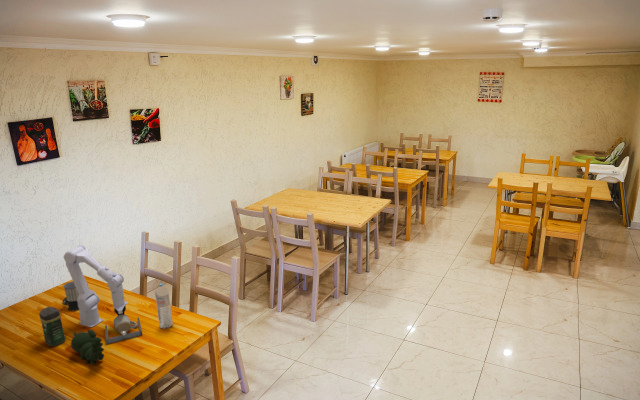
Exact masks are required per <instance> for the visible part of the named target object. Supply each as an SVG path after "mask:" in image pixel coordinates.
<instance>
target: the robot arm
mask: <svg viewBox="0 0 640 400" xmlns="http://www.w3.org/2000/svg"><path fill="white" fill-rule="evenodd" d="M63 259H64V262H65V266H66V268H67V270H68V273H69V275H70V277H71V280H72V281H73V282H74V284H75V286H76V288H77V291H78V293H79V296H78V299H77V302H78V308H79V309H80V310H78V314H79V320H80V322H79V325H82V326H85V327H88V328H93V327H95V326H97V325H98V324H100V323H101V322H102V321H104V319H102V318H100V314H99V309H98V304H99V302H100V297H99V296H98V295H97V294H96V292H95V290H91V289H90V286H89V283H87V280H86V278H85V276H84V274H83V271H82V268H81V267H80V264H82V263H85V264H86V265H87V266H89V267H90V268H92V269H93V270H95V271H96V274H97V276H99V277H100V278H101V279H102V280H103V281H105V282H106V285H107V287H108V288H109V290H110V293H111V299H112V304H113V305H112V306H113V310H114V312H115V313H116V315H117V316H118V315H122V314H123V315H125V311H126V309H127V308H126V305H128V304H129V303H128V301H125V293H124V288H123V283H124V277H123V275H122V274H120V273H118V272H114V271H112V270H111V269H110V268H109V267H108V266H107V265H101V263H100V262H98V261H97V260H96V259H95V258H94V257H93V256H92V255H91V254H90V251H89V249H87V248H86V247H85V246H84V245H81V244H80V245H77V246H76V247H74V248H72V249H70V250H68V251H65V253H64V255H63Z"/></svg>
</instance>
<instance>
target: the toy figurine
mask: <svg viewBox="0 0 640 400" xmlns="http://www.w3.org/2000/svg"><path fill="white" fill-rule="evenodd" d="M96 333H97V332H96V331H94V330H93V329H88V330H87V332H86V331H81V332H73V337H72V339H71V342H70V347H71V349H72V350H73V351H74V352H76V353H78V354H80V356H79V358H80V360H85V363H86V364H90V365H95V364H96V362H97V361H103V360H104V357H105V355H104V353H103V352H104V350H105V348H104V347H103V345H104V344H103V342H102V339H101V338H100V337H98V336H97V334H96Z"/></svg>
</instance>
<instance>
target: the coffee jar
mask: <svg viewBox="0 0 640 400" xmlns="http://www.w3.org/2000/svg"><path fill="white" fill-rule="evenodd" d="M61 317H62V316H61V312H60V310H59V309H58V308H56V307H53V306H48V307H45V308H42V309H41V310H39V320H40V323H41V327H42V332H43V338H44V343H46V344H47V345H48V346H49V347H55V346H60V345H61V344H62V343H64V342H65V341H66V336H65V331H64V328H63V323H62V318H61Z"/></svg>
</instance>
